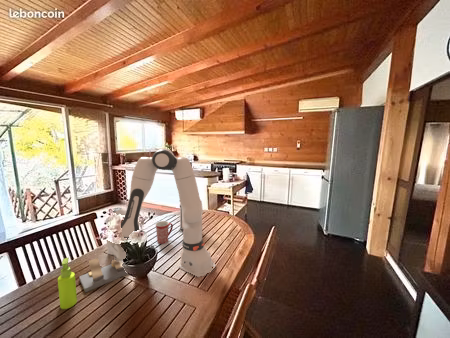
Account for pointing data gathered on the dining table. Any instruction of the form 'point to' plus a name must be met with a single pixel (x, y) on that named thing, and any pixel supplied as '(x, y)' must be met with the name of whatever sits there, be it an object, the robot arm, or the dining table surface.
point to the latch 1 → (96, 269)
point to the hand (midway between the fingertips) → (117, 260)
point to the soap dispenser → (67, 286)
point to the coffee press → (181, 219)
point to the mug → (163, 231)
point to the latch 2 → (117, 265)
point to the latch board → (109, 275)
